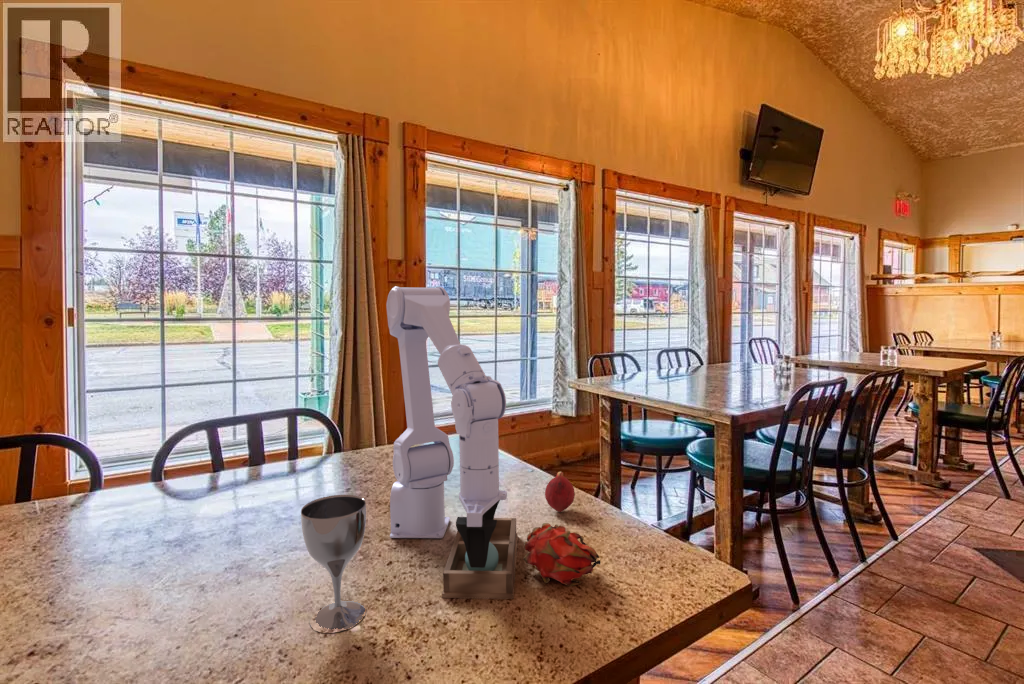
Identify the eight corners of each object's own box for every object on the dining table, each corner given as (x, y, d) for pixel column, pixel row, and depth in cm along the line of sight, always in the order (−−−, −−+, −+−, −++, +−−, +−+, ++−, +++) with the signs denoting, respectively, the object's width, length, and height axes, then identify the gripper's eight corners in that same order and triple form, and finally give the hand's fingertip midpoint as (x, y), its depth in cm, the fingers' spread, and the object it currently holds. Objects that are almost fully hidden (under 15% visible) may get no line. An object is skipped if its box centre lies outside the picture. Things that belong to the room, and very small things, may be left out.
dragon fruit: (520, 575, 80) (594, 603, 75) (505, 566, 73) (585, 597, 68) (538, 521, 83) (609, 545, 78) (525, 508, 76) (602, 534, 71)
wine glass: (316, 600, 71) (311, 495, 69) (374, 597, 71) (370, 493, 70) (297, 637, 63) (291, 520, 62) (362, 633, 63) (358, 517, 62)
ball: (463, 583, 73) (462, 550, 73) (467, 564, 78) (466, 533, 78) (498, 583, 73) (497, 550, 73) (499, 564, 78) (499, 533, 78)
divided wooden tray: (441, 597, 71) (441, 574, 71) (461, 535, 90) (460, 517, 90) (513, 598, 70) (512, 575, 70) (517, 536, 89) (517, 517, 89)
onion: (573, 519, 96) (573, 478, 96) (543, 517, 97) (543, 476, 97) (575, 507, 102) (575, 468, 101) (547, 505, 103) (547, 466, 102)
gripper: (503, 481, 67) (504, 579, 68) (508, 449, 82) (509, 531, 83) (450, 480, 67) (452, 579, 68) (465, 449, 82) (466, 530, 83)
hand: (480, 553), depth 75 cm, fingers open, 7 cm apart
